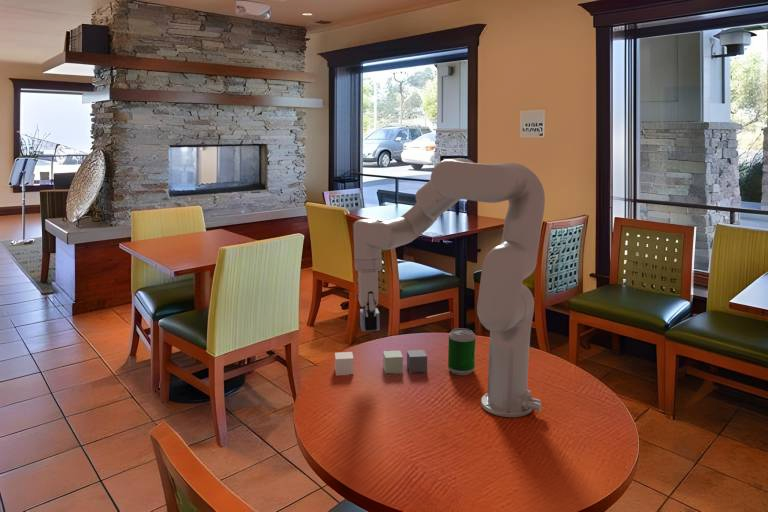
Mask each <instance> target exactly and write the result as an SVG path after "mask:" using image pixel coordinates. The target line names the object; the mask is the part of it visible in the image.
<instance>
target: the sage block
mask: <svg viewBox="0 0 768 512" xmlns="http://www.w3.org/2000/svg"><path fill="white" fill-rule="evenodd" d="M382 361H383V362H382V363H383V364H382V367H384V368H383V371H384V374H385V375H387V374H386V373H395V374H403V373H404V371H403V370H404V369H403V367H404V356H403V354H402V351H401V350H383V352H382ZM402 372H403V373H402Z"/></svg>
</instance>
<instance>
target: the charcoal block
mask: <svg viewBox="0 0 768 512" xmlns="http://www.w3.org/2000/svg"><path fill="white" fill-rule="evenodd" d="M406 367H408V368H407V370H408V369H409V370H408V372H409V371H410V372H424V373H428V355H427V353H426V351H425V349H413V350H406ZM410 372H409V373H410Z"/></svg>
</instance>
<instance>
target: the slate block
mask: <svg viewBox="0 0 768 512" xmlns="http://www.w3.org/2000/svg"><path fill="white" fill-rule="evenodd" d="M365 316H366V310H365V309H364V308H360V309H359V319H360V320H359V321H360V322H359V324H360V329H361V332H372V331H373V332H374V331H376V332H377V331H381V329H380V328H381V326H380V325H381V321H380V311H379V308H377V307H376V317H377V329H376V330H368V331H366V330H365Z"/></svg>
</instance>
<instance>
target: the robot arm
mask: <svg viewBox="0 0 768 512" xmlns="http://www.w3.org/2000/svg"><path fill="white" fill-rule="evenodd" d="M461 200H466V201H473V202H482V203H489V204H493V203H496V204H497V203H502V202H505V201H508V208H507V211H506V214H505V218H504V223H503V230H502V231H503V232H502V237H501V241H500V244H499V245H496V246H495V247H493V248H492V249H491V250H490V251H488V253H487V255H486V256H485V258H484V260H483V264H482V268H481V273H480V274H481V275H480V282H479V289H478V297H477V306H476V307H477V308H476V311H477V317H478V319H479V322H480V324H482V326H483V327H484V328H485V329H486V330H488V331H489V345H488V346H489V349H488V374H487V375H488V376H487V377H488V378H487V393H485V394H484V395H482V397H481V398H480V405H481V407H482V409H484V410H485V411H486V412H488V413H490V414H492V415H495V416H498V417H503V418H520V417H525V416H527V415H529V414H530V413H531V412H532V411H536V412H541V411H542V409H543V404H542V400H541V399H539V398H535V397H532V395H531V394H532V393H531V391H532V390H530V389H528V378H529V377H528V375H529V359H530V343H531V331H532V324H533V318H534V312H535V299H534V296H533V293H532V291H531V290H530V289H529V288H528V286H527V285H525V284H523V283H524V282H523V281H524V280H525V279H527V278H528V277H529V276H531V275H532V274H533V273H534V271H535V269H536V267H537V262H538V255H539V249H540V242H541V241H540V240H541V234H542V226H543V219H544V213H545V207H546V206H545V204H546V203H545V202H546V198H545V191H544V187H543V185H542V182H541V180H540V178H539V177H538V176H537V175H536V173H534V171H532V170H531V169H530V168H528V167H527V166H525V165H523V164H520V163H516V162H503V163H495V164H494V163H493V164H491V163H477V162H474V161H473V160H471V159H468V158H461V157H459V158H458V157H457V158H447V159H444V160H441V161H440V162H438V163H437V164H436V165H435V166H434V167H433V168H432V170H431V174H430V180H429V181H427V182H426V183H424V185H423V186H422V187H420V188H418V190H417V191H416V194H415V201H416V203H415V204H414V205H413V206H412V207H411V208H410V209H409V210H407V211H406V212H405V213H404V214H402V215H401V216H400V217H397V218H394V219H388V220H385V221H379V220H377V219H376V218H375V219H373V218H362V219H357V220H356V221H354V223H353V251H354V252H353V253H354V254H353V255H354V259H353V260H354V270H355V271H357V274H358V276H357V282H358V283H357V284H358V286H357V287H358V288H357V290H358V294H357V295H358V296H357V299H358V302H359V305H360V307H362V309H365V310H366V316H365V330H366V331H365V332H369V331H368V330H376V329H377V317H376V308H377V306H378V305H379V271H381V270H382V268H383V262H382V261H383V259H382V258H383V257H382V251H384V250H385V251H387V250H392V249H396V248H399V247H401V246H405V245H407V244H410V243H412V242H413V241H414V240H416V239H417V238H418V237H419V236H421V235H422V234H423V233H425V232H426V231H427V230H428V229H430V228H431V227H432V226H433V224H434V223H435V222H436V221H437V220H438V219H439V217H441V216H442V215H443V214H444V213H445V212H446V211H448V210H450V209H451V208H452V207H453V206H454V205H455V204H456V203H458V202H460V201H461Z"/></svg>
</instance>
